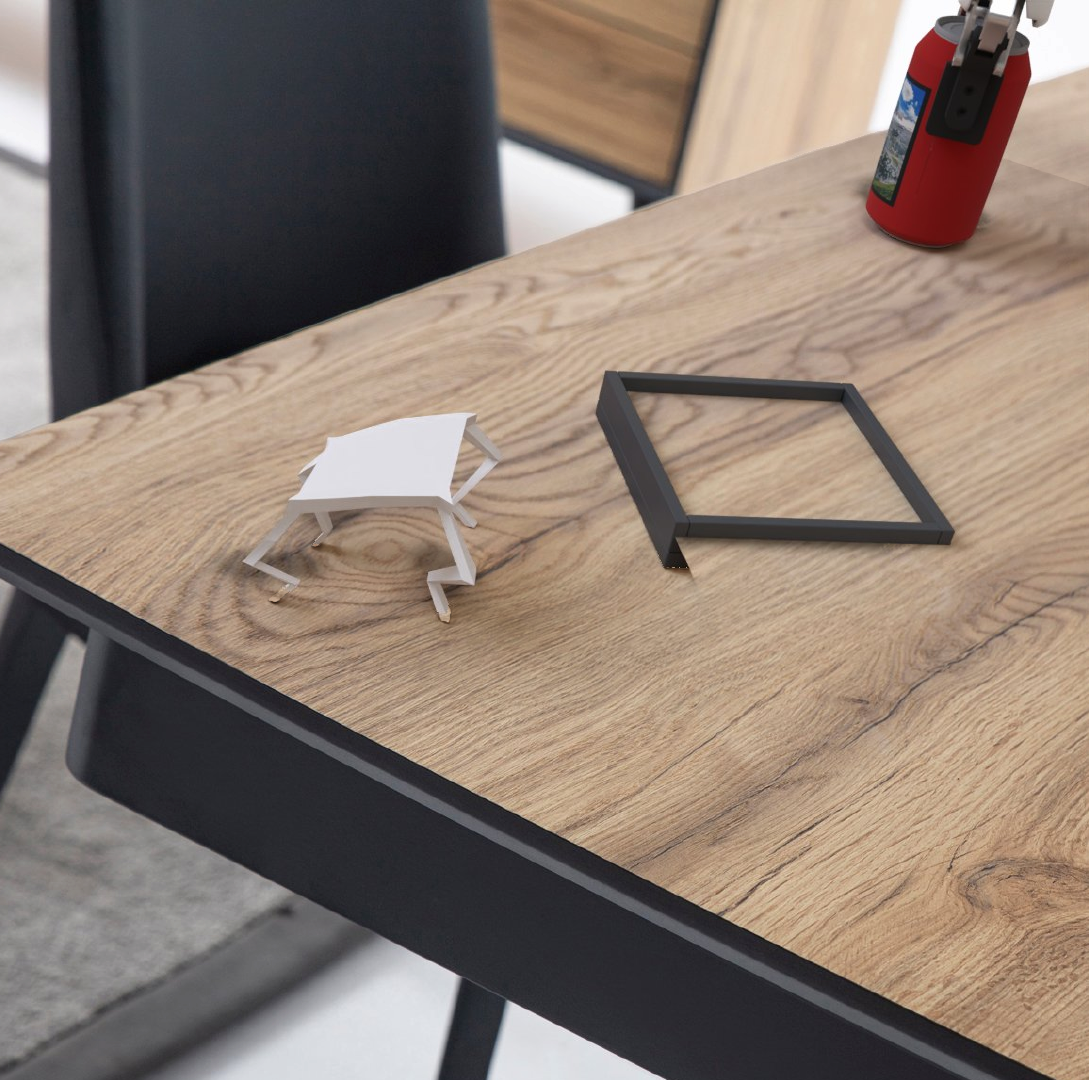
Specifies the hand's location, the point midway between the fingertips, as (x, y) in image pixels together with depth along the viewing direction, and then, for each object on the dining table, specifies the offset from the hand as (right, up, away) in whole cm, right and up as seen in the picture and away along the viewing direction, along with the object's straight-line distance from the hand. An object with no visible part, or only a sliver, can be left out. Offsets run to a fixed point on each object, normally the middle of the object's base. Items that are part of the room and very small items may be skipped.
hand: (954, 115), depth 95 cm
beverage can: (-1, -6, +4) cm, 7 cm away
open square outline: (-16, -24, -23) cm, 37 cm away
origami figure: (-31, -28, -31) cm, 52 cm away
